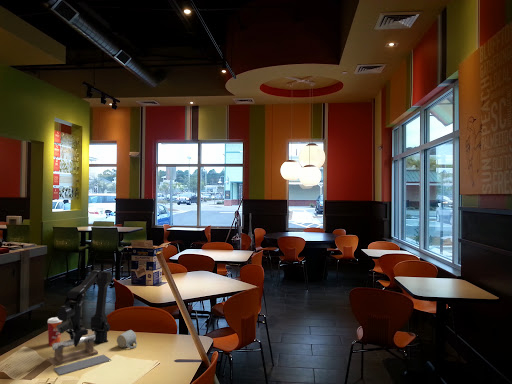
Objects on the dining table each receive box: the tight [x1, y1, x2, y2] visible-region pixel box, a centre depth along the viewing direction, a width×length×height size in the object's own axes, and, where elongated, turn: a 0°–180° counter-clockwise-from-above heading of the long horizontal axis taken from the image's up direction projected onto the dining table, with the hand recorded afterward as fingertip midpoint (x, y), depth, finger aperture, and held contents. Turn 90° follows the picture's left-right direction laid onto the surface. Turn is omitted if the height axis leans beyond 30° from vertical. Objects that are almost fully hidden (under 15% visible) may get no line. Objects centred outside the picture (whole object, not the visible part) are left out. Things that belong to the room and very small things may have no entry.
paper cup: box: [47, 316, 63, 347], centre depth 210 cm, size 8×8×14 cm
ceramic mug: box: [116, 329, 138, 350], centre depth 208 cm, size 11×8×8 cm
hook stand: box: [48, 338, 99, 367], centre depth 191 cm, size 21×8×8 cm, turn 135°
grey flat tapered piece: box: [53, 354, 112, 376], centre depth 183 cm, size 24×9×1 cm, turn 135°
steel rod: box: [51, 333, 95, 351], centre depth 192 cm, size 20×3×3 cm, turn 135°
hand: (74, 345), depth 191 cm, fingers closed on steel rod, 3 cm apart
